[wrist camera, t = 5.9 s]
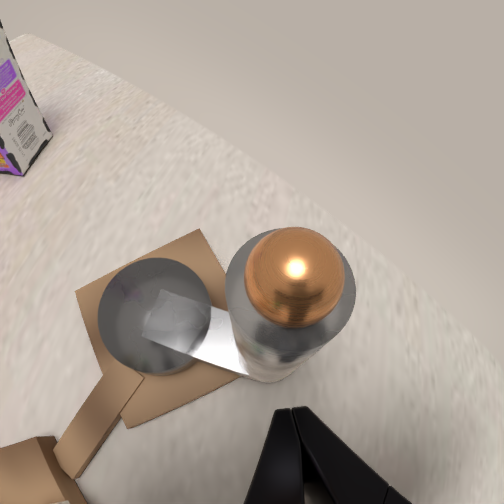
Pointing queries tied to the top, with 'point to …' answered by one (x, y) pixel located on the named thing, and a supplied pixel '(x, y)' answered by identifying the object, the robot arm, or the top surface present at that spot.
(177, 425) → the top surface
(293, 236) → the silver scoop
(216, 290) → the brown panel stand
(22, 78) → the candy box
